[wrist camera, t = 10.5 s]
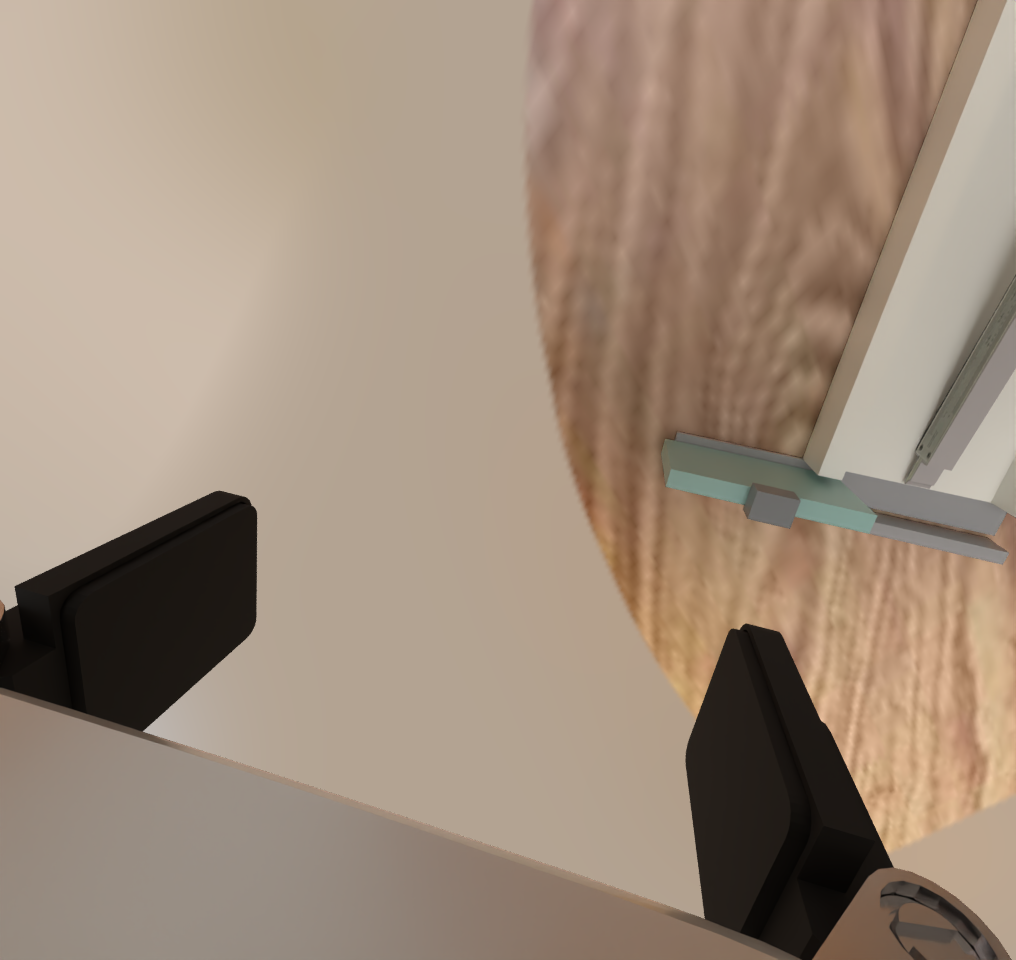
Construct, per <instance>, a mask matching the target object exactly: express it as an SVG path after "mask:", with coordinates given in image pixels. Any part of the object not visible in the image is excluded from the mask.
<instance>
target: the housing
mask: <svg viewBox="0 0 1016 960" xmlns="http://www.w3.org/2000/svg"><path fill="white" fill-rule="evenodd" d="M1015 275H1016V0H978V1H977V4H976V7H975V9H974V12H973V14H972V17H971V20H970V22H969V25H968V27H967V30H966V33H965V35H964V38H963V41H962V43H961V46H960V48H959V51H958V54H957V56H956V59H955V61H954V64H953V67H952V69H951V72H950V75H949V77H948V80H947V82H946V85H945V88H944V90H943V93H942V95H941V98H940V101H939V103H938V106H937V108H936V111H935V114H934V116H933V119H932V122H931V124H930V127H929V129H928V132H927V135H926V137H925V140H924V142H923V145H922V148H921V150H920V153H919V155H918V158H917V161H916V163H915V166H914V169H913V171H912V174H911V176H910V179H909V182H908V184H907V187H906V189H905V192H904V195H903V197H902V200H901V202H900V205H899V208H898V210H897V213H896V216H895V218H894V221H893V223H892V226H891V229H890V231H889V234H888V236H887V239H886V242H885V244H884V247H883V249H882V252H881V255H880V257H879V260H878V263H877V265H876V268H875V270H874V273H873V276H872V278H871V281H870V283H869V286H868V289H867V291H866V294H865V296H864V299H863V302H862V304H861V307H860V310H859V312H858V315H857V317H856V320H855V323H854V325H853V328H852V330H851V333H850V336H849V338H848V341H847V343H846V346H845V349H844V351H843V354H842V357H841V359H840V362H839V364H838V367H837V370H836V372H835V375H834V377H833V380H832V383H831V385H830V388H829V390H828V393H827V396H826V398H825V401H824V404H823V406H822V409H821V411H820V414H819V417H818V419H817V422H816V424H815V427H814V430H813V432H812V435H811V437H810V440H809V443H808V445H807V448H806V451H805V453H804V456H803V458H800V457H795V456H790V455H786V454H781V453H777V452H772V451H767V450H763V449H758V448H753V447H749V446H744V445H739V444H735V443H730V442H725V441H721V440H716V439H711V438H707V437H702V436H698V435H693V434H688V433H684V432H679V431H677V433H676V437H675V440H674V441H679V442H684V443H688V444H693V445H697V446H702V447H706V448H711V449H716V450H720V451H725V452H729V453H734V454H739V455H743V456H748V457H752V458H757V459H762V460H766V461H771V462H775V463H780V464H784V465H789V466H794V467H798V468H803V469H807V470H812V471H814V472H815V473H816V474H817V475H819V476H824V477H828V478H833V479H837V480H840V481H841V482H842V483H843V484H844V485H846V486H847V487H848V488H849V489H850V490H851V491H852V492H853V493H854V494H855V495H856V496H857V497H858V498H859V499H860V500H861V501H863V502H864V503H865V504H866V505H867V506H868V507H869V508H873V509H877V510H882V511H886V512H891V513H895V514H900V515H904V516H909V517H913V518H917V519H922V520H926V521H931V522H935V523H940V524H944V525H949V526H953V527H958V528H962V529H967V530H971V531H975V532H980V533H984V534H989V535H993V536H995V534H996V532H997V530H998V528H999V526H1000V525H1001V523H1002V521H1003V519H1004V517H1005V515H1006V514H1007V513H1009V514H1010V515H1012V516H1014V517H1015V518H1016V369H1015V370H1014V372H1013V374H1012V375H1011V377H1010V378H1009V380H1008V382H1007V383H1006V385H1005V386H1004V388H1003V390H1002V391H1001V393H1000V394H999V396H998V398H997V399H996V401H995V402H994V404H993V406H992V407H991V409H990V410H989V412H988V414H987V415H986V417H985V418H984V420H983V421H982V423H981V425H980V426H979V428H978V429H977V431H976V433H975V434H974V436H973V437H972V439H971V441H970V442H969V444H968V445H967V447H966V449H965V450H964V452H963V453H962V455H961V457H960V458H959V460H958V461H957V463H956V464H955V466H954V468H953V469H952V471H950V470H945V469H944V470H943V472H942V474H941V475H940V477H939V478H938V480H937V482H936V483H935V485H934V486H931V487H930V489H927V488H923V487H918V486H913V485H908V484H904V483H905V479H906V477H907V475H908V473H909V472H910V470H911V468H912V467H913V465H914V463H915V462H916V460H917V458H918V456H917V455H916V453H915V450H916V448H917V445H918V444H919V442H920V440H921V438H922V437H923V435H924V433H925V431H926V430H927V428H928V426H929V425H930V423H931V421H932V419H933V418H934V416H935V414H936V412H937V411H938V409H939V407H940V405H941V404H942V402H943V400H944V398H945V397H946V395H947V393H948V392H949V390H950V388H951V386H952V385H953V383H954V381H955V379H956V378H957V376H958V374H959V372H960V371H961V369H962V367H963V365H964V364H965V362H966V360H967V359H968V357H969V355H970V353H971V352H972V350H973V348H974V346H975V345H976V343H977V341H978V339H979V338H980V336H981V334H982V332H983V331H984V329H985V327H986V326H987V324H988V322H989V320H990V319H991V317H992V315H993V313H994V312H995V310H996V308H997V306H998V305H999V303H1000V301H1001V299H1002V298H1003V296H1004V294H1005V292H1006V291H1007V289H1008V287H1009V285H1010V284H1011V282H1012V280H1013V278H1014V277H1015ZM664 480H665V478H664ZM665 487H666V485H665ZM677 490H678V489H677ZM690 493H691V492H690ZM703 496H704V495H703ZM716 499H717V498H716ZM729 502H730V501H729ZM742 505H743V504H742ZM874 513H875V514H876V515H877V518H876V520H875V522H874V524H873V527H872V529H871V531H870V533H869V534H872V535H877V536H881V537H885V538H890V539H894V540H898V541H903V542H907V543H911V544H916V545H920V546H924V547H929V548H933V549H937V550H942V551H946V552H950V553H955V554H959V555H963V556H968V557H972V558H976V559H981V560H985V561H989V562H994V563H998V564H1002V565H1003V563H1004V561H1005V560H1006V558H1007V556H1008V554H1009V552H1007V551H1006V550H1005V549H1003V548H1002V547H1000V546H999V545H997V544H996V543H995V542H993V541H992V540H990V539H989V538H987V537H982V536H978V535H973V534H969V533H964V532H960V531H956V530H951V529H947V528H942V527H938V526H933V525H929V524H924V523H920V522H916V521H911V520H907V519H902V518H898V517H893V516H889V515H884V514H880V513H876V512H874ZM807 520H808V519H807ZM820 523H821V522H820ZM833 526H834V525H833ZM846 529H847V528H846ZM859 532H860V531H859Z"/></svg>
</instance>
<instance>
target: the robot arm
mask: <svg viewBox="0 0 1016 960" xmlns="http://www.w3.org/2000/svg"><path fill="white" fill-rule="evenodd" d="M256 588H257V511H256V509H255V508H254V507H253V506H251V503H250V500H249V499H248V498H246V497H242V496H239V495H235V494H231V493H227V492H223V491H216V492H213V493H211V494H209V495H207V496H205V497H202V498H200V499H199V500H196V501H194V502H192V503H190V504H188V505H185V506H183V507H181V508H179V509H177V510H175V511H173V512H171V513H169V514H166V515H164V516H162V517H160V518H158V519H156V520H154V521H152V522H150V523H147V524H145V525H143V526H141V527H139V528H137V529H135V530H133V531H131V532H128V533H126V534H124V535H122V536H120V537H118V538H116V539H114V540H111V541H109V542H107V543H105V544H103V545H101V546H99V547H97V548H95V549H92V550H90V551H88V552H86V553H84V554H82V555H80V556H78V557H76V558H73V559H71V560H69V561H67V562H65V563H63V564H61V565H59V566H57V567H55V568H52V569H50V570H48V571H46V572H44V573H42V574H40V575H38V576H35V577H33V578H31V579H29V580H27V581H25V582H23V583H21V584H19V585H16V586H15V591H16V597H17V603H18V605H17V606H15V607H13V608H11V609H9V610H7V611H5V606H4V604H3V603H2V602H1V600H0V960H1011V958H1010V956H1009V955H1008V953H1007V952H1006V950H1005V949H1004V947H1003V946H1002V944H1001V943H1000V941H999V939H998V938H997V937H996V936H995V935H994V934H993V933H992V931H991V930H990V929H989V928H988V927H987V926H986V925H985V924H984V922H983V921H982V920H981V919H980V918H979V917H978V916H977V915H976V914H975V913H974V912H973V911H971V910H970V909H969V908H968V907H967V906H966V905H965V904H963V903H962V902H961V901H960V900H959V899H958V898H957V897H955V896H954V895H952V894H951V893H949V892H948V891H946V890H945V889H943V888H942V887H940V886H939V885H937V884H936V883H934V882H932V881H930V880H928V879H926V878H924V877H922V876H919V875H917V874H915V873H913V872H909V871H905V870H901V869H896V868H894V867H893V865H892V863H891V861H890V858H889V856H888V854H887V852H886V850H885V848H884V846H883V843H882V841H881V839H880V837H879V835H878V833H877V831H876V828H875V826H874V824H873V822H872V820H871V818H870V816H869V813H868V811H867V809H866V807H865V805H864V803H863V801H862V798H861V796H860V794H859V792H858V790H857V788H856V786H855V783H854V781H853V779H852V777H851V775H850V773H849V770H848V768H847V766H846V764H845V762H844V760H843V758H842V755H841V753H840V751H839V749H838V747H837V745H836V743H835V740H834V738H833V736H832V734H831V732H830V730H829V729H828V727H827V726H826V724H825V723H823V722H822V721H821V720H820V718H819V716H818V714H817V711H816V709H815V707H814V705H813V703H812V700H811V698H810V696H809V694H808V692H807V689H806V687H805V685H804V683H803V681H802V678H801V676H800V674H799V672H798V670H797V667H796V665H795V663H794V661H793V659H792V656H791V654H790V652H789V650H788V648H787V645H786V643H785V641H784V639H783V637H782V635H781V633H780V632H777V631H774V630H770V629H766V628H762V627H758V626H754V625H750V624H744V625H743V626H742V627H741V629H740V630H737V629H731V630H730V631H729V633H728V635H727V638H726V640H725V643H724V646H723V649H722V651H721V654H720V657H719V660H718V662H717V665H716V668H715V670H714V673H713V676H712V679H711V681H710V684H709V687H708V689H707V692H706V695H705V698H704V700H703V703H702V706H701V709H700V711H699V714H698V717H697V719H696V722H695V725H694V728H693V731H692V733H691V736H690V739H689V741H688V745H687V750H686V770H687V778H688V787H689V795H690V803H691V811H692V819H693V827H694V835H695V843H696V851H697V859H698V867H699V874H700V883H701V891H702V899H703V907H704V916H705V919H703V918H700V917H697V916H695V915H692V914H689V913H686V912H684V911H681V910H678V909H675V908H673V907H670V906H667V905H664V904H662V903H659V902H656V901H653V900H650V899H647V898H644V897H641V896H638V895H635V894H632V893H630V892H627V891H624V890H621V889H618V888H615V887H612V886H609V885H607V884H604V883H601V882H598V881H595V880H592V879H590V878H587V877H584V876H581V875H578V874H575V873H572V872H569V871H566V870H563V869H560V868H557V867H554V866H551V865H548V864H545V863H542V862H539V861H536V860H533V859H530V858H527V857H524V856H521V855H518V854H515V853H512V852H509V851H506V850H503V849H500V848H497V847H494V846H491V845H488V844H485V843H482V842H479V841H476V840H473V839H470V838H467V837H464V836H461V835H458V834H455V833H452V832H449V831H446V830H443V829H440V828H437V827H434V826H431V825H428V824H425V823H422V822H419V821H416V820H413V819H410V818H407V817H404V816H401V815H398V814H394V813H392V812H388V811H385V810H382V809H379V808H376V807H373V806H370V805H367V804H364V803H361V802H358V801H355V800H352V799H349V798H346V797H342V796H340V795H337V794H333V793H330V792H327V791H324V790H321V789H318V788H315V787H312V786H309V785H306V784H303V783H299V782H297V781H294V780H291V779H288V778H285V777H281V776H278V775H275V774H272V773H269V772H266V771H263V770H260V769H256V768H254V767H251V766H248V765H244V764H241V763H238V762H235V761H232V760H229V759H226V758H223V757H220V756H217V755H214V754H211V753H207V752H204V751H201V750H198V749H195V748H192V747H188V746H185V745H182V744H179V743H176V742H173V741H170V740H167V739H164V738H160V737H157V736H154V735H151V734H148V733H145V732H143V731H144V730H145V729H146V728H147V727H148V726H149V725H150V724H151V723H153V722H154V721H155V720H156V719H157V718H158V717H159V716H160V715H161V714H163V713H164V712H165V711H166V710H167V709H168V708H169V707H170V706H171V705H172V704H174V703H175V702H176V701H177V700H178V699H179V698H180V697H182V696H183V695H184V694H185V693H186V692H187V691H188V690H189V689H190V688H192V686H194V685H195V684H196V683H197V682H198V681H199V680H200V679H201V678H203V677H204V676H205V675H206V674H207V673H208V672H209V671H211V670H212V668H214V667H215V666H216V665H217V664H218V663H219V662H221V661H222V660H223V659H224V658H225V657H226V656H227V655H228V654H229V653H231V652H232V651H233V650H234V649H235V648H236V647H237V646H238V645H240V644H241V643H242V642H243V641H244V640H245V639H246V638H247V637H248V636H249V635H250V634H251V632H252V630H253V628H254V626H255V623H256V592H257V589H256Z"/></svg>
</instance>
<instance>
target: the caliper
mask: <svg viewBox="0 0 1016 960" xmlns="http://www.w3.org/2000/svg"><path fill="white" fill-rule="evenodd" d="M1015 369H1016V275H1015V277H1014V278H1013V280H1012V282H1011V284H1010V285H1009V287H1008V289H1007V291H1006V292H1005V294H1004V296H1003V298H1002V299H1001V301H1000V303H999V305H998V306H997V308H996V310H995V312H994V313H993V315H992V317H991V319H990V320H989V322H988V324H987V326H986V327H985V329H984V331H983V332H982V334H981V336H980V338H979V339H978V341H977V343H976V345H975V346H974V348H973V350H972V352H971V353H970V355H969V357H968V359H967V360H966V362H965V364H964V365H963V367H962V369H961V371H960V372H959V374H958V376H957V378H956V379H955V381H954V383H953V385H952V386H951V388H950V390H949V392H948V393H947V395H946V397H945V398H944V400H943V402H942V404H941V405H940V407H939V409H938V411H937V412H936V414H935V416H934V418H933V419H932V421H931V423H930V425H929V426H928V428H927V430H926V431H925V433H924V435H923V437H922V438H921V440H920V442H919V444H918V445H917V448H916V450H915V453H916V455H917V456H918V458H917V460H916V462H915V463H914V465H913V467H912V468H911V470H910V472H909V473H908V475H907V477H906V479H905V483H904V484H908V485H913V486H918V487H923V488H927V489H930V487H931V486H934V485H935V483H936V482H937V480H938V478H939V477H940V475H941V474H942V472H943V470H944V469H945V470H950V471H952V469H953V468H954V466H955V464H956V463H957V461H958V460H959V458H960V457H961V455H962V453H963V452H964V450H965V449H966V447H967V445H968V444H969V442H970V441H971V439H972V437H973V436H974V434H975V433H976V431H977V429H978V428H979V426H980V425H981V423H982V421H983V420H984V418H985V417H986V415H987V414H988V412H989V410H990V409H991V407H992V406H993V404H994V402H995V401H996V399H997V398H998V396H999V394H1000V393H1001V391H1002V390H1003V388H1004V386H1005V385H1006V383H1007V382H1008V380H1009V378H1010V377H1011V375H1012V374H1013V372H1014V370H1015Z"/></svg>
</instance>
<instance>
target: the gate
mask: <svg viewBox="0 0 1016 960" xmlns="http://www.w3.org/2000/svg"><path fill="white" fill-rule="evenodd" d="M661 457H662V464H663V471H664V478H665V485H666V487H669V488H673V489H678V490H682V491H686V492H691V493H695V494H699V495H704V496H708V497H712V498H717V499H721V500H725V501H730V502H734V503H738V504H743V505H744V508H743V510H744V512H745V514H746V517H747V519H751V520H755V521H759V522H763V523H768V524H772V525H776V526H780V527H785V528H789V529H790V527H791V525H792V522H793V520H794V517H799V518H803V519H808V520H812V521H816V522H821V523H825V524H829V525H834V526H838V527H842V528H847V529H851V530H855V531H860V532H864V533H868V534H869V533H870V531H871V529H872V527H873V524H874V522H875V520H876V518H877V515H876V514H875V513H874V512H873V511H872V510H871V509H870V508H869V507H868V506H867V505H866V504H865V503H864V502H863V501H861V500H860V499H859V498H858V497H857V496H856V495H855V494H854V493H853V492H852V491H851V490H850V489H849V488H848V487H847V486H846V485H844V484H843V483H842V482H841V481H840V480H837V479H833V478H828V477H824V476H819V475H817V474H816V473H815V472H814V471H812V470H807V469H803V468H798V467H794V466H789V465H784V464H780V463H775V462H771V461H766V460H762V459H757V458H752V457H748V456H743V455H739V454H734V453H729V452H725V451H720V450H716V449H711V448H706V447H702V446H697V445H693V444H688V443H684V442H679V441H674V440H670V439H665V441H664V445H663V448H662V452H661Z"/></svg>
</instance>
